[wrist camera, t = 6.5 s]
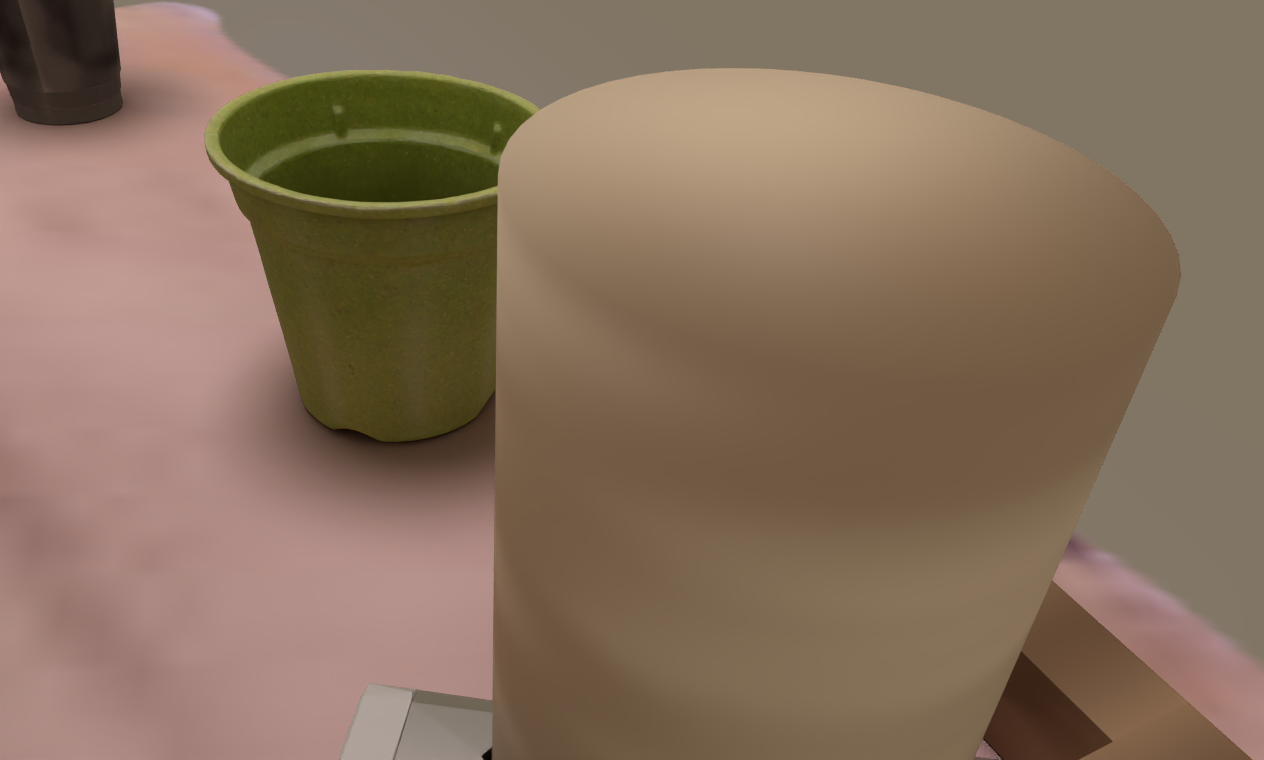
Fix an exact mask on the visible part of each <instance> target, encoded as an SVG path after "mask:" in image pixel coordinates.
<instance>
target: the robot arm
mask: <svg viewBox="0 0 1264 760" xmlns="http://www.w3.org/2000/svg"><path fill="white" fill-rule="evenodd" d="M492 711H493V701H492V700H485V699H478V698H471V697H464V696H457V695H450V694H443V693H436V692H429V691H422V690H417V689H409V688H401V687H393V686H385V685H377V684H369V685H368V687H367V688H366V690H365V691H364V693H363V694H362V696H361V697H360V700H359V703H358V706H357V708H356V711H355V714H354V717H353V720H352V722H351V725H350V728H349V731H348V734H347V737H346V739H345V742H344V745H343V748H342V751H341V754H340V756H339V759H338V760H492ZM973 760H998V759H990V758H981V757H974V759H973Z"/></svg>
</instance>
